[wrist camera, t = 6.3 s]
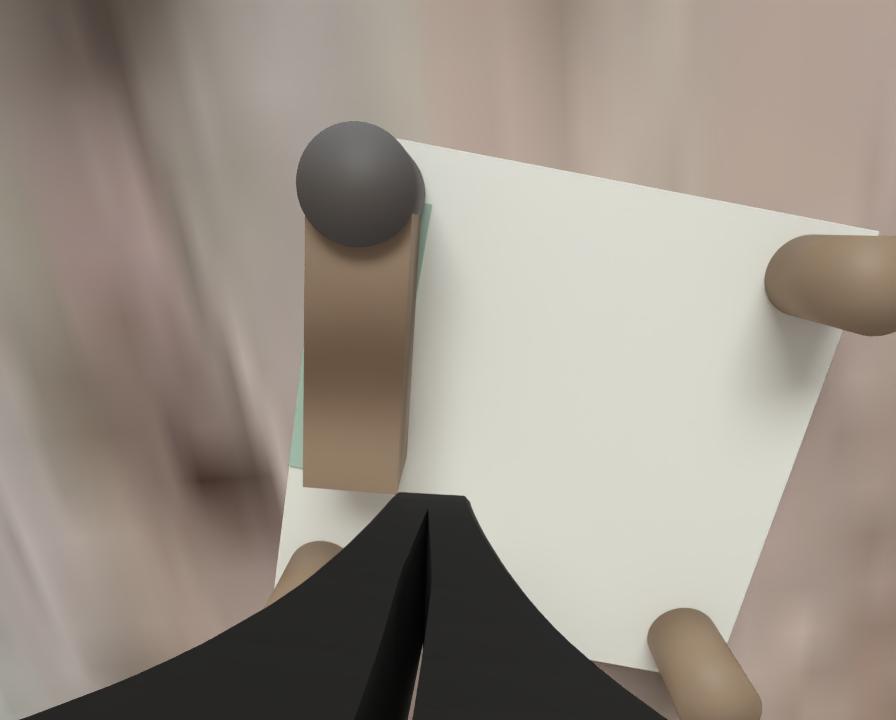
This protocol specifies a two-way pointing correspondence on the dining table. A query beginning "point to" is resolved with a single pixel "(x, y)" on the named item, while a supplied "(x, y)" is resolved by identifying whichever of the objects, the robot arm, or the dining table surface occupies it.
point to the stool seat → (612, 400)
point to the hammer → (358, 305)
